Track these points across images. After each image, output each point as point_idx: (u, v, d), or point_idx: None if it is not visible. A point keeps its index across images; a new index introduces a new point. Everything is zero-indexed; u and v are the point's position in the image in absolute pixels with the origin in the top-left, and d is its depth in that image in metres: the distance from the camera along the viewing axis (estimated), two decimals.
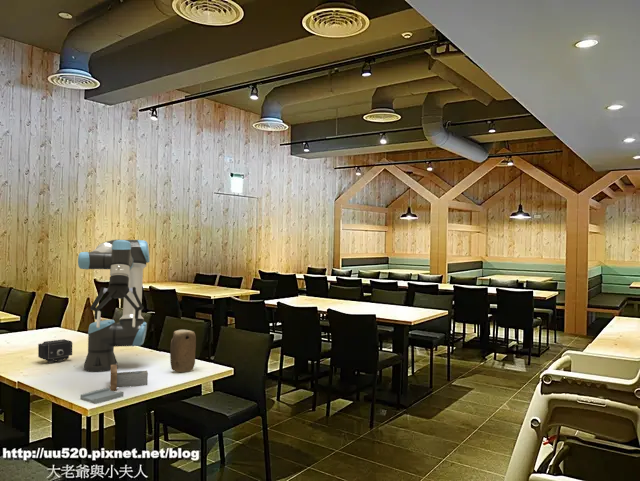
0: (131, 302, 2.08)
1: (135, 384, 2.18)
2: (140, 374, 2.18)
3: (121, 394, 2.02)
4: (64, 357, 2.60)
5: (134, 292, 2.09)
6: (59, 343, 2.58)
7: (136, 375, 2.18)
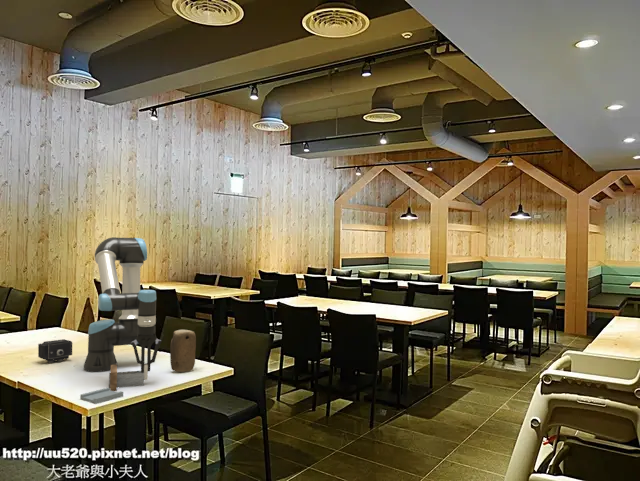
0: (149, 355, 2.21)
1: (131, 384, 2.17)
2: (136, 374, 2.18)
3: (121, 394, 2.02)
4: (64, 357, 2.60)
5: (157, 345, 2.22)
6: (59, 343, 2.58)
7: (132, 375, 2.17)
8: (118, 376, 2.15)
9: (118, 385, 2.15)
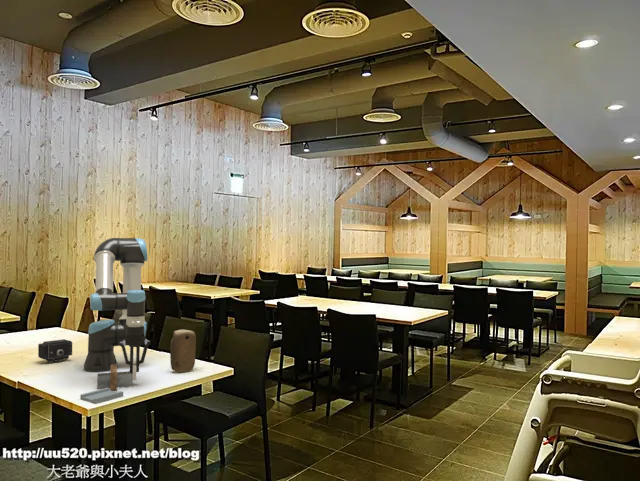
0: (138, 355, 2.19)
1: (120, 385, 2.15)
2: (125, 375, 2.16)
3: (121, 394, 2.02)
4: (64, 357, 2.60)
5: (146, 346, 2.21)
6: (59, 343, 2.58)
7: (121, 376, 2.16)
8: (106, 377, 2.13)
9: (106, 386, 2.13)
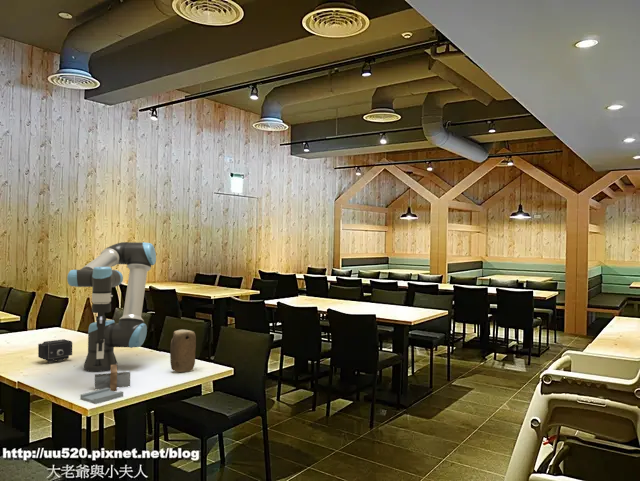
0: None
1: (117, 385, 2.15)
2: (122, 375, 2.16)
3: (121, 394, 2.02)
4: (64, 357, 2.60)
5: None
6: (59, 343, 2.58)
7: (118, 376, 2.15)
8: (104, 378, 2.13)
9: (104, 387, 2.13)
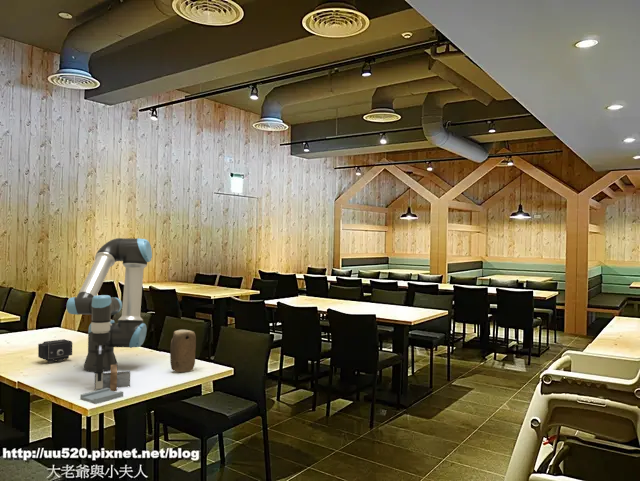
0: None
1: (117, 385, 2.15)
2: (122, 375, 2.16)
3: (121, 394, 2.02)
4: (64, 357, 2.60)
5: None
6: (59, 343, 2.58)
7: (118, 376, 2.15)
8: (104, 377, 2.13)
9: (104, 386, 2.13)
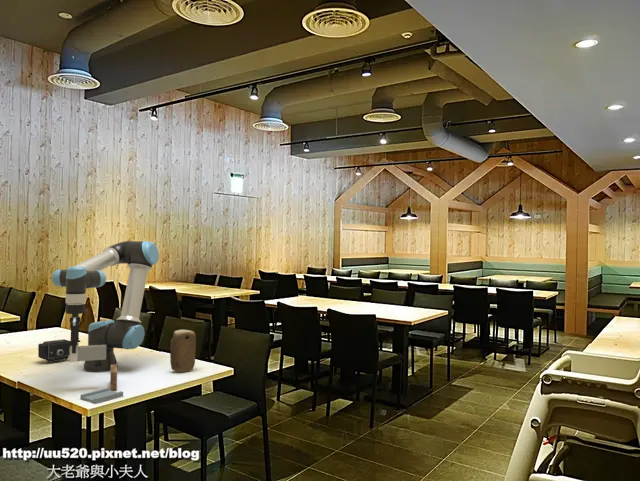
0: None
1: (93, 358, 2.11)
2: (98, 347, 2.12)
3: (121, 394, 2.02)
4: (64, 357, 2.60)
5: None
6: (59, 343, 2.58)
7: (94, 348, 2.11)
8: (79, 349, 2.09)
9: (79, 359, 2.09)
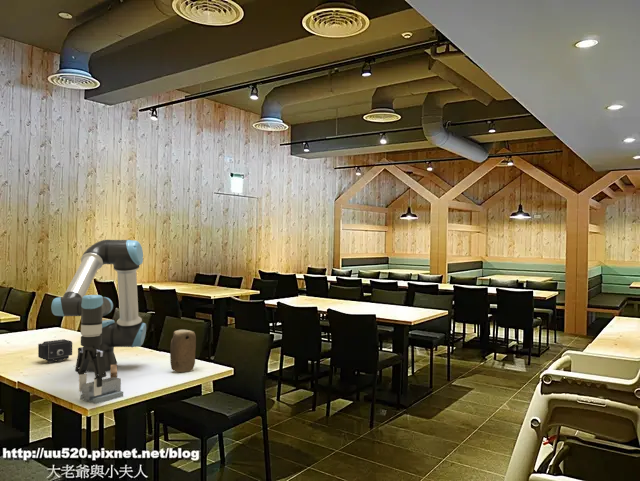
0: None
1: (109, 392, 2.01)
2: (114, 381, 2.02)
3: (121, 394, 2.02)
4: (64, 357, 2.60)
5: None
6: (59, 343, 2.58)
7: (110, 382, 2.01)
8: None
9: (97, 395, 1.96)
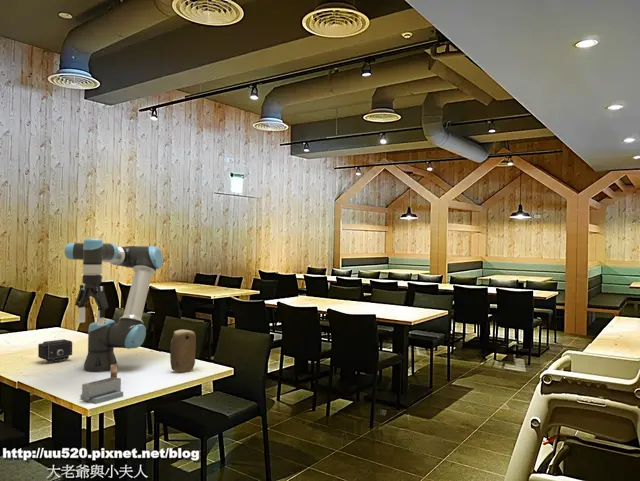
0: None
1: (109, 392, 2.01)
2: (114, 381, 2.02)
3: (121, 394, 2.02)
4: (64, 357, 2.60)
5: None
6: (59, 343, 2.58)
7: (110, 382, 2.01)
8: (97, 386, 1.96)
9: (97, 395, 1.96)
